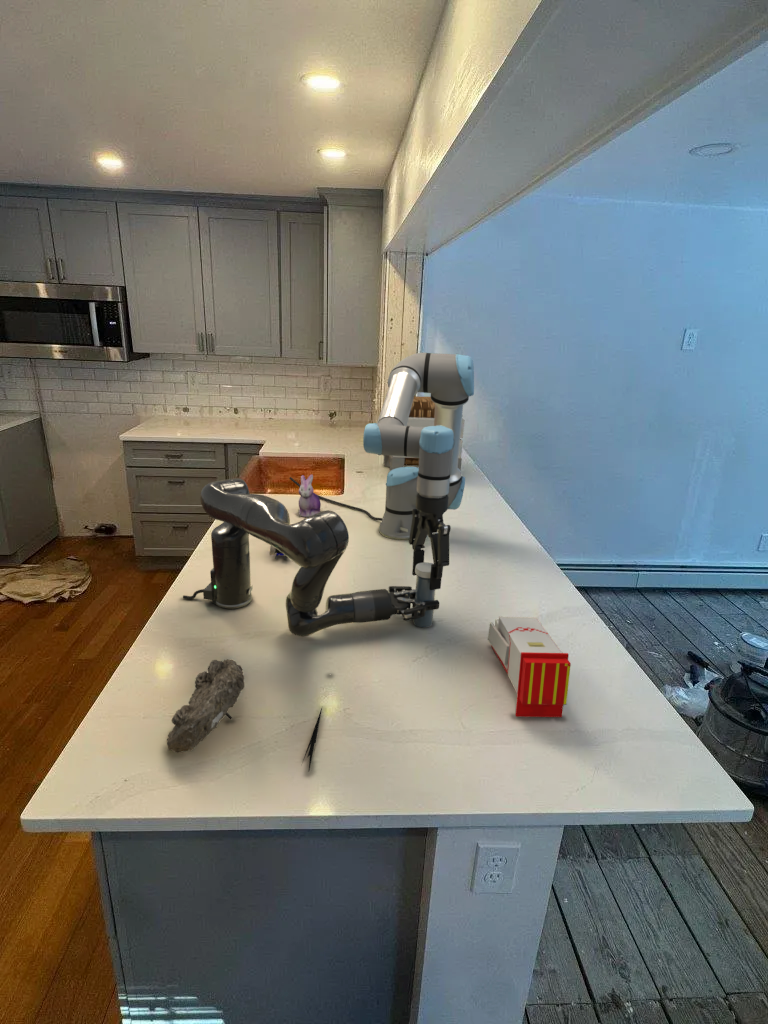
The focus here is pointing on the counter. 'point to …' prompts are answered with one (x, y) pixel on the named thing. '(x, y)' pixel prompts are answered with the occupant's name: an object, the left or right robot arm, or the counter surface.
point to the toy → (531, 665)
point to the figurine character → (274, 550)
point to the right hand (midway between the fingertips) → (426, 581)
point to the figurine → (308, 498)
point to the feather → (313, 740)
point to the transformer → (419, 417)
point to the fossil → (206, 705)
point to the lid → (423, 569)
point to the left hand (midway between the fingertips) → (434, 599)
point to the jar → (424, 595)
